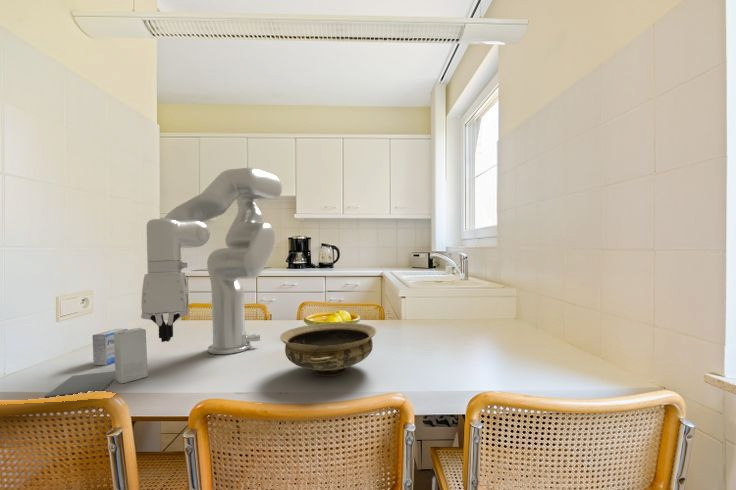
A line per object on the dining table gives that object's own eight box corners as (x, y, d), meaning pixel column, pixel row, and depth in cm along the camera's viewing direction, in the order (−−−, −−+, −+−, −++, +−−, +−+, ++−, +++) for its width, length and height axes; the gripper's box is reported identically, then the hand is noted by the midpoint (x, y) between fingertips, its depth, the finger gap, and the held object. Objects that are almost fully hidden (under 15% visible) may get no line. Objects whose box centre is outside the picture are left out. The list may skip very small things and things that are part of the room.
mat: (122, 371, 101) (122, 370, 101) (103, 390, 87) (103, 389, 87) (72, 377, 97) (72, 375, 97) (44, 398, 84) (44, 396, 84)
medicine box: (106, 366, 106) (105, 334, 106) (92, 365, 107) (91, 334, 107) (129, 357, 114) (128, 328, 114) (116, 357, 115) (115, 328, 115)
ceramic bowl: (295, 355, 112) (295, 320, 112) (377, 353, 111) (376, 319, 111) (264, 395, 82) (263, 348, 82) (376, 394, 81) (375, 346, 81)
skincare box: (141, 374, 98) (140, 326, 98) (148, 377, 96) (147, 328, 96) (114, 381, 94) (112, 331, 94) (120, 384, 91) (119, 333, 91)
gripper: (198, 266, 103) (200, 334, 103) (135, 268, 98) (136, 340, 98) (194, 267, 96) (196, 341, 96) (126, 270, 91) (128, 347, 91)
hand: (166, 340), depth 97 cm, fingers closed
